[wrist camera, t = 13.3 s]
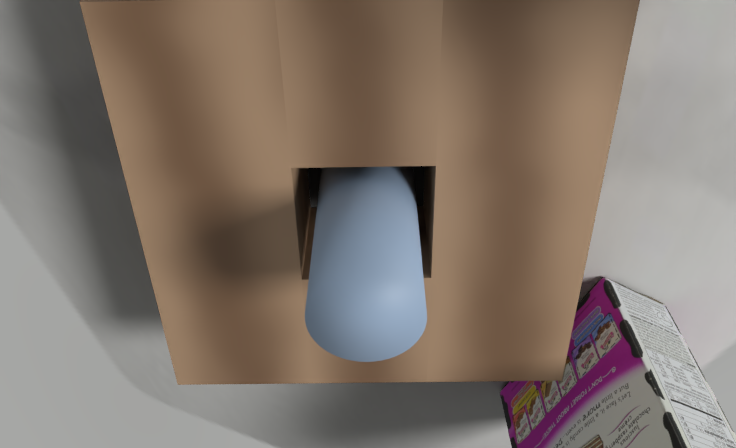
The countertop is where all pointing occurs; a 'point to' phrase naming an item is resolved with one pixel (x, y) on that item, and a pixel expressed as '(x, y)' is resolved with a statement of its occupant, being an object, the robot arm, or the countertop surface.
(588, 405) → the candy bar box
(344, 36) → the socket block
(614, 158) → the countertop surface
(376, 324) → the peg
